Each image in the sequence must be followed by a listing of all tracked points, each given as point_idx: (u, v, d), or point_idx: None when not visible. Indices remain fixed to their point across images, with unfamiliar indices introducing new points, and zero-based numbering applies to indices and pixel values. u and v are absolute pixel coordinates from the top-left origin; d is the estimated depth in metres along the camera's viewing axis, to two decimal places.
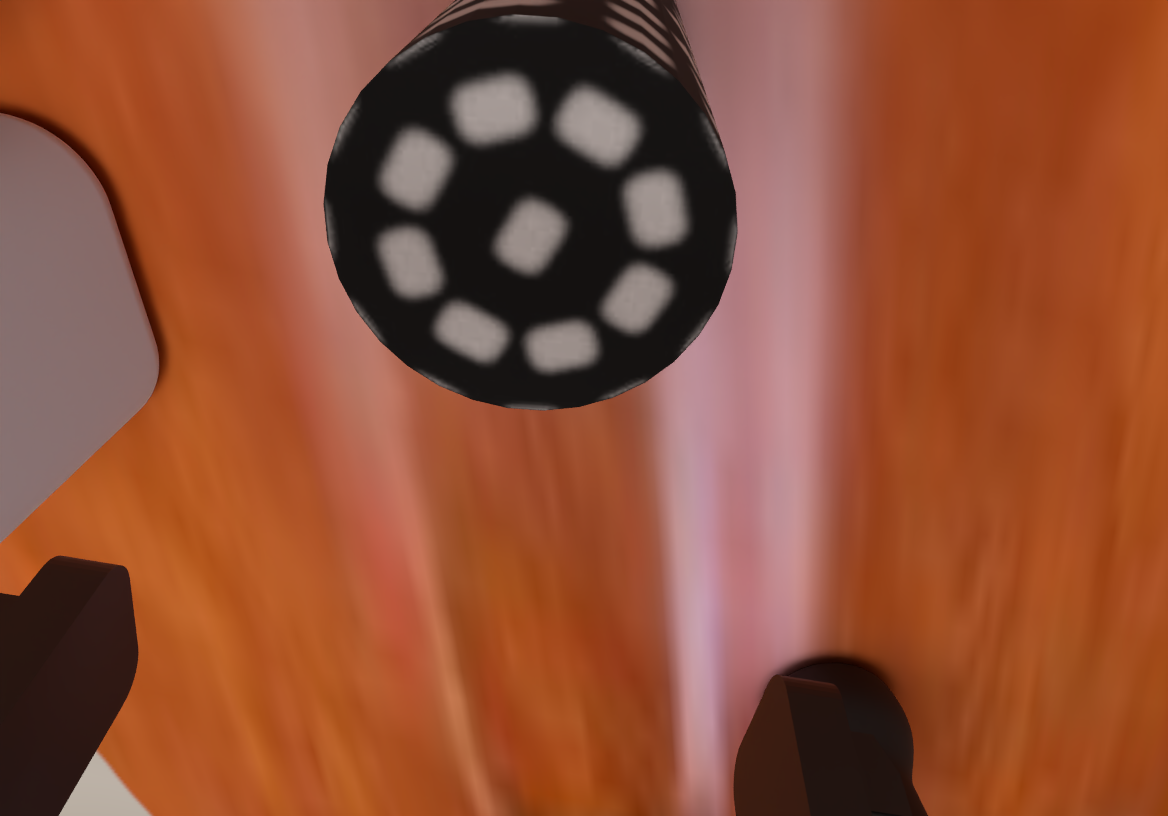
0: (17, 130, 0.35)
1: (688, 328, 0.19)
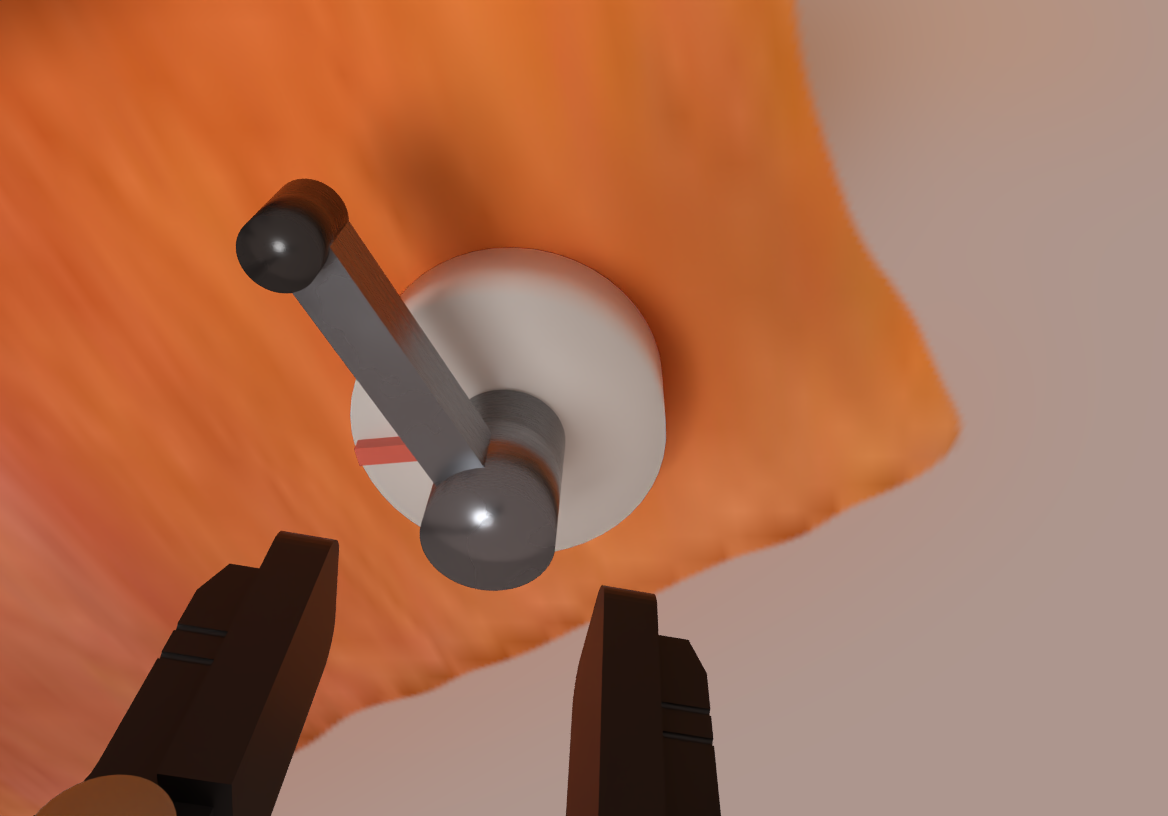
0: None
1: None
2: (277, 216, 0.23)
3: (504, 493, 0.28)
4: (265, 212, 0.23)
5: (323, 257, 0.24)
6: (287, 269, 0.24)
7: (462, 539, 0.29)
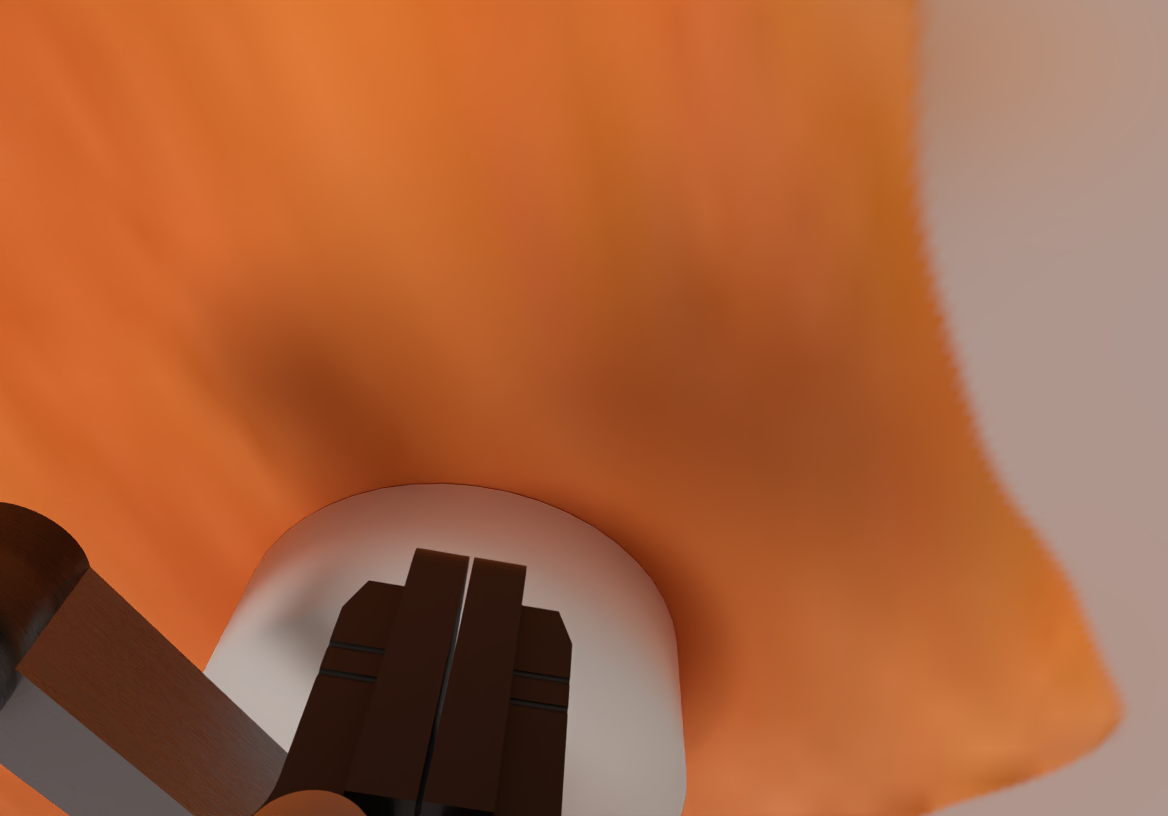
0: None
1: None
2: None
3: None
4: None
5: None
6: None
7: None
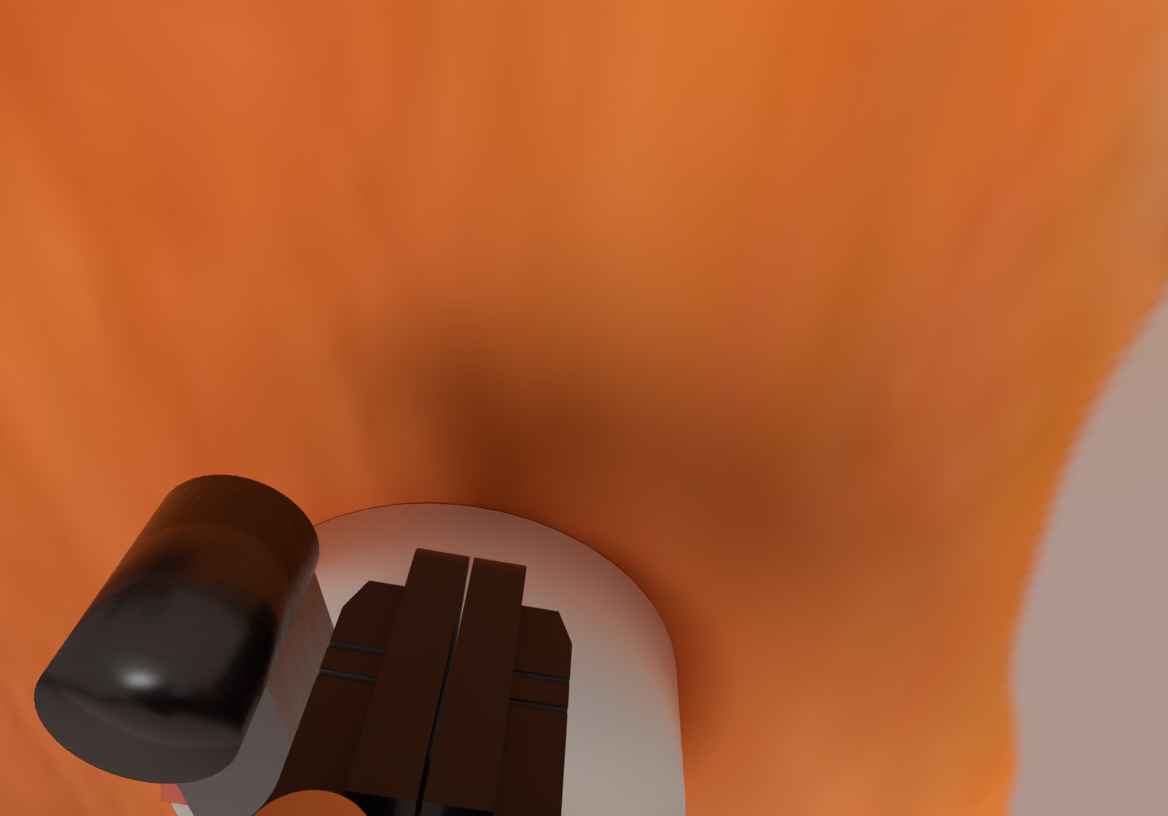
0: None
1: None
2: (171, 664, 0.09)
3: None
4: (142, 631, 0.09)
5: (247, 729, 0.10)
6: (151, 746, 0.10)
7: None
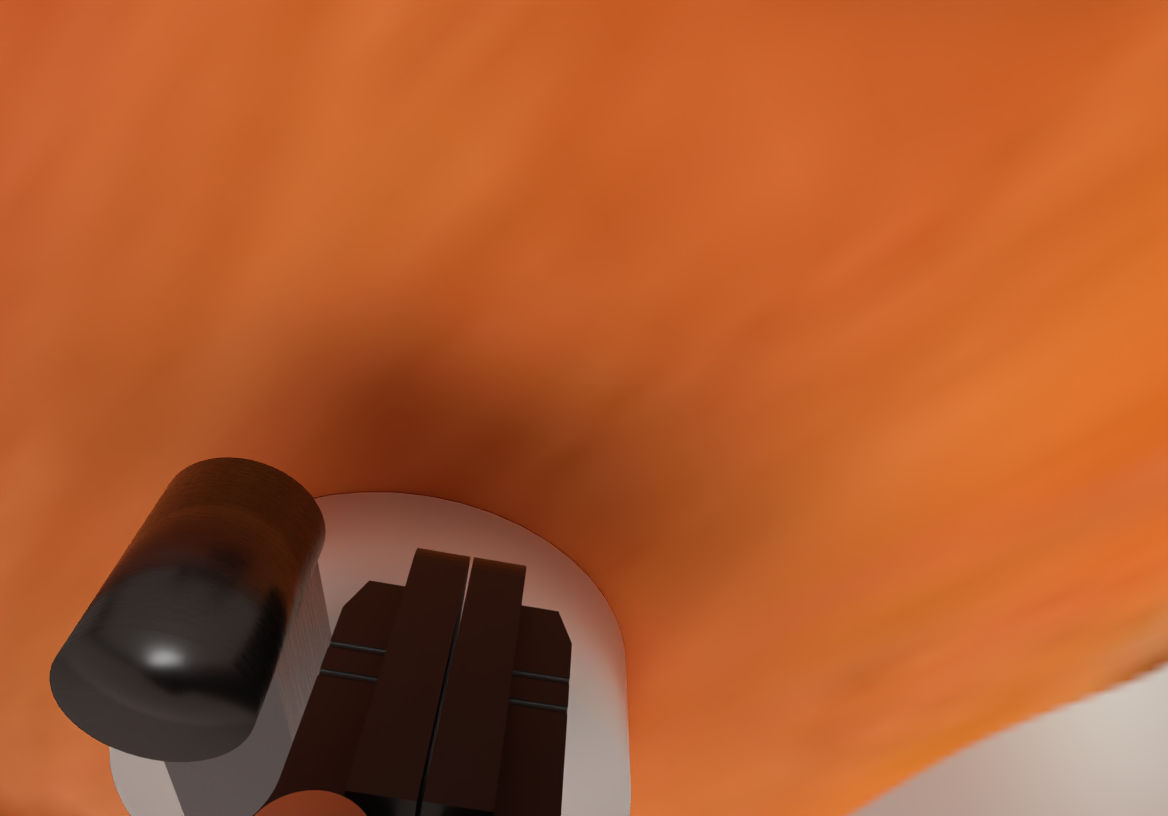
0: None
1: None
2: (199, 646, 0.09)
3: None
4: (170, 611, 0.09)
5: None
6: (162, 725, 0.10)
7: None
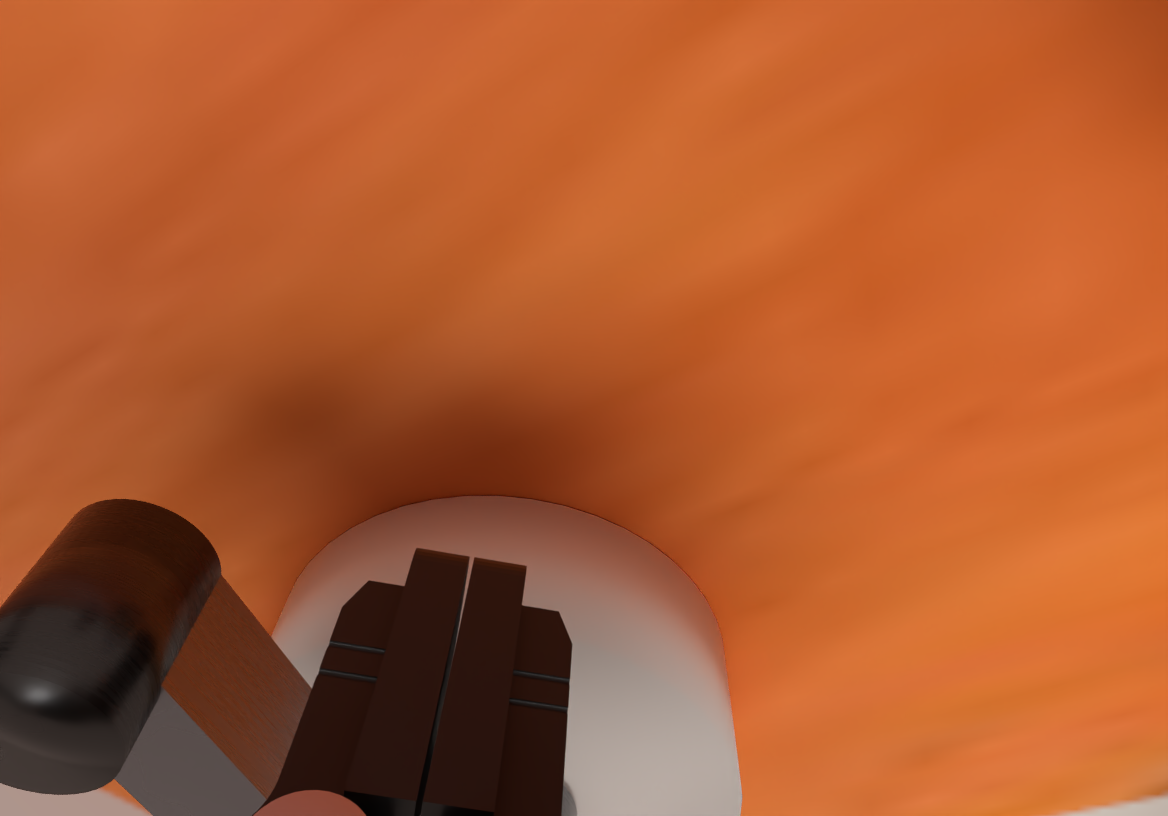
0: None
1: None
2: (21, 675, 0.10)
3: None
4: None
5: (138, 729, 0.11)
6: (50, 759, 0.10)
7: None
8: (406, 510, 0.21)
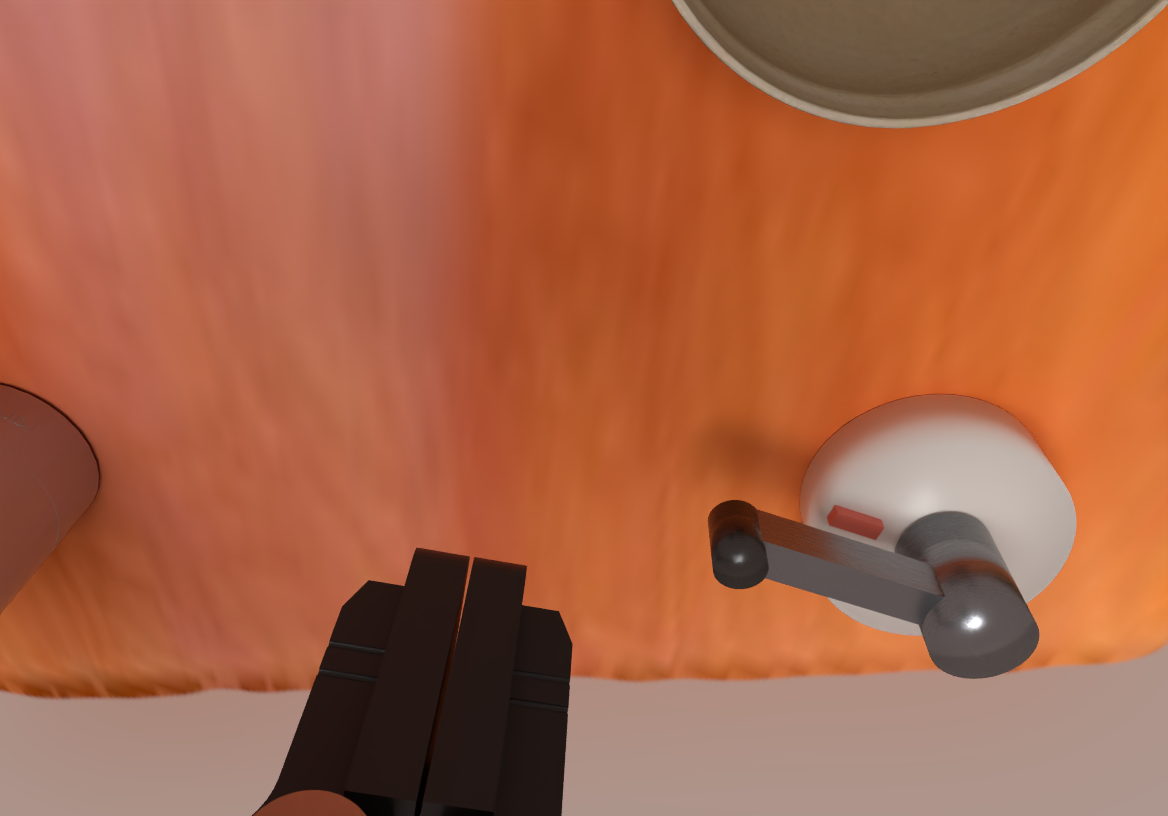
0: None
1: None
2: (727, 550, 0.35)
3: (973, 609, 0.36)
4: (718, 550, 0.35)
5: (764, 551, 0.35)
6: (750, 571, 0.35)
7: (965, 651, 0.37)
8: (814, 459, 0.44)
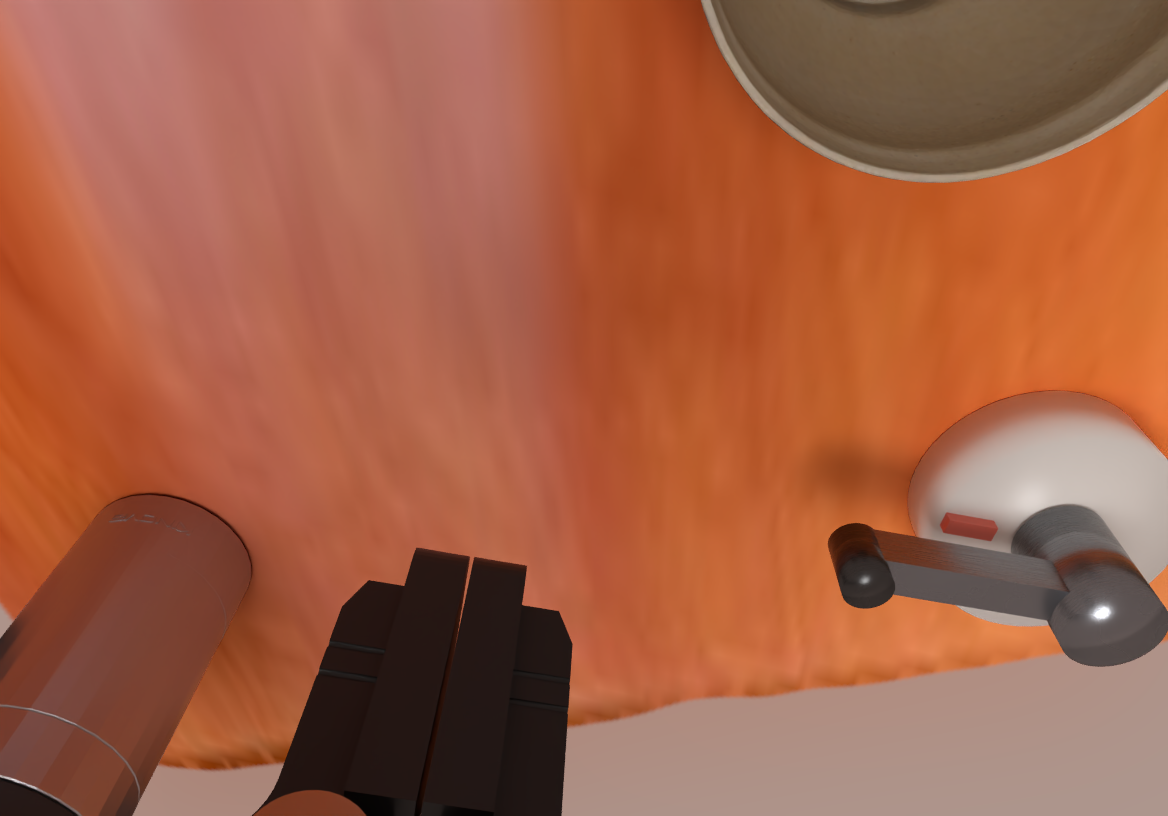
0: None
1: None
2: (854, 574, 0.37)
3: (1100, 601, 0.37)
4: (845, 575, 0.37)
5: (889, 570, 0.37)
6: (878, 591, 0.37)
7: (1097, 641, 0.38)
8: (918, 468, 0.46)
